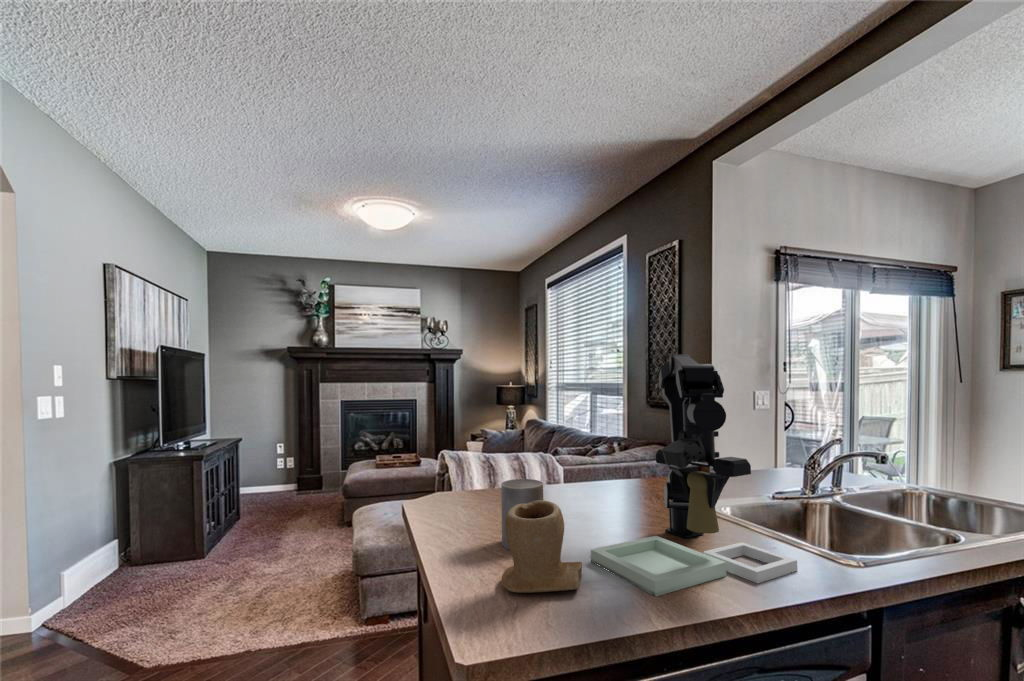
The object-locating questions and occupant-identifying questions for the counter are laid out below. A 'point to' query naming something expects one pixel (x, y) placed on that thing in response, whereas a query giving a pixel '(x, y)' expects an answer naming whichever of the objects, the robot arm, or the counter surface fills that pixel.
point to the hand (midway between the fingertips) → (701, 505)
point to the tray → (658, 564)
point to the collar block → (773, 569)
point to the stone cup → (538, 550)
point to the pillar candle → (518, 497)
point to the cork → (700, 506)
